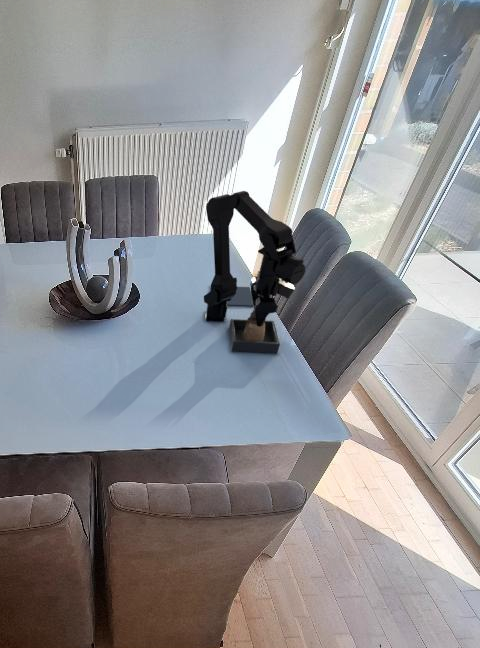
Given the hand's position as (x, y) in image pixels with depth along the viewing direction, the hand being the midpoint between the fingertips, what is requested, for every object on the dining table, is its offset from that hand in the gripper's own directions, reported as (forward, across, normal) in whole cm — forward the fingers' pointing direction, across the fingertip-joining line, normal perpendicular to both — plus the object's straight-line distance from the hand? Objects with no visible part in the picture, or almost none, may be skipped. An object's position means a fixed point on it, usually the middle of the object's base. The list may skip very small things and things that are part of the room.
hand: (257, 318), depth 150 cm
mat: (+8, +32, +5) cm, 33 cm away
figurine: (+8, 0, 0) cm, 8 cm away
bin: (+8, 0, 0) cm, 8 cm away
